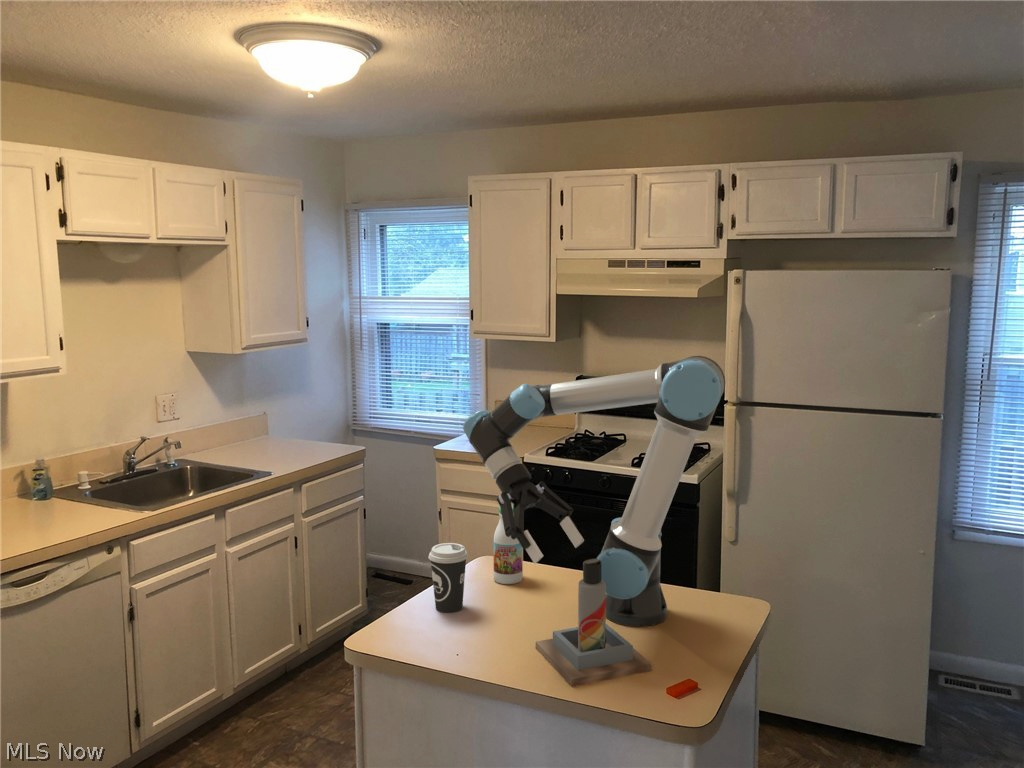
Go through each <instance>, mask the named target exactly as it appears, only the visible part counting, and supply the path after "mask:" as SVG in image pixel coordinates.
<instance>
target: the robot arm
mask: <svg viewBox="0 0 1024 768" xmlns="http://www.w3.org/2000/svg"><path fill="white" fill-rule="evenodd" d="M725 388H726V376H725V373H724V371H723V369H722V367H721V366H720V365H719V364H718V362H717V361H715V360H713V359H712V358H710V357H708V356H704V355H692V356H688V357H686V358H682V359H680V360H676V361H675V360H674V361H671V362H665V363H664V362H663V363H660V364H659V366H658V367H657V368H654V369H653V368H652V369H647V370H641V371H633V372H626V373H620V374H612V375H607V376H606V375H605V376H599V377H591V378H586V379H578V380H572V381H564V382H557V383H552V384H535V385H530V384H529V383H523V384H521V385H520V386H519V387H517V388H516V389H514V390H513V391H511V393H510V394H509V395H508V396H507V397H505V399H503V401H502V402H500V403H499V404H498V405H497V406H496V407H495V408H494V409H493V410H492V411H489V410H487V409H481V410H478V411H477V410H476V412H474V414H471V415H469V416H468V417H467V418H466V419H465V420H464V422H463V424H462V425H463V426H462V427H463V428H462V429H463V432H464V433H465V436H466V437H467V439H468V442H469V444H471V446H472V447H473V449H474V451H475V452H476V453H477V455H478V457H479V458H480V460H481V461H482V462H483V464H484V466H485V468H486V469H487V471H488V473H489V474H490V476H491V477H492V479H493V480H495V484H496V486H497V488H498V489H499V490H500V492H501V493H500V495H499V496H498V497H497V498H496V502H497V504H498V505H499V507H501V513H502V519H503V524H504V530H505V535H506V536H507V537H510V536H511V538H512V539H516V538H517V540H518V541H519V543H520V544H521V546H522V549H523V550H525V551H526V553H527V554H528V557H530V559H531V561H532V563H533V564H535V565H536V564H537V563H539V561H540V560H541V559H542V558H543V557H544V554H543V553H542V551H541V549H540V547H539V546H538V545H537V543H536V541H535V540H534V539H533V537H532V535H531V534H530V532H529V530H528V529H526V530H524V526H525V510H527V509H529V508H535V509H540V510H542V511H543V512H545V513H547V514H549V515H550V516H552V517H554V518H555V519H557V520H558V521H560V522H559V525H560V526H561V528H562V530H563V531H564V532H565V534H566V535H567V537H568V539H569V540H570V542H571V543H572V545H573V546H574V548H575V549H577V548H579V546H580V545H582V544H583V543H584V542H585V539H584V538H583V536H582V534H581V533H580V532H579V530H578V527H577V525H576V524H575V522H574V521H573V518H572V517H571V515H572V514H573V512H574V508H573V507H572V506H571V505H569V504H568V503H567V502H566V501H565V500H563V499H562V498H561V497H560V496H559V495H558V494H556V493H555V492H554V491H552V490H551V489H550V488H549V487H548V485H546V483H545V482H544V481H542V480H541V481H540V482H539V483H538V484H537V485H535V483H533V482H532V475H531V473H530V472H529V470H528V468H527V467H526V465H525V464H524V463H523V462H522V459H521V457H520V455H518V453H517V452H516V450H515V448H514V447H513V445H512V444H511V442H510V440H511V439H512V438H514V437H515V435H517V434H518V433H519V432H520V431H521V430H522V429H524V428H525V427H526V426H527V425H528V424H530V423H532V422H534V421H536V420H537V419H539V418H541V419H542V418H548V417H555V416H559V415H567V414H575V413H584V412H590V411H591V412H592V411H599V410H607V409H617V408H626V407H632V406H639V405H646V404H647V405H648V404H656V406H655V408H654V410H653V411H654V412H653V414H654V415H655V417H656V419H657V423H656V426H655V429H654V432H653V434H652V436H651V439H650V443H649V445H648V447H647V450H646V453H645V454H644V458H643V461H642V463H641V466H640V469H639V471H638V474H637V476H636V479H635V482H634V484H633V487H632V489H631V493H630V496H629V498H628V500H627V503H626V506H625V508H624V511H623V514H622V516H621V517H616V518H614V519H612V521H611V522H610V523H611V525H610V528H609V531H608V534H607V536H606V538H605V541H604V545H603V546H602V549H601V552H599V554H598V555H597V556H596V558H595V559H599V560H600V561H601V563H602V569H601V580H603V581H604V582H605V583H606V620H607V619H608V620H609V621H611V622H613V623H616V624H619V625H623V626H631V627H648V626H655V625H658V624H660V623H662V622H664V621H665V620H666V618H667V617H668V605H667V602H666V601H667V600H666V599H665V595H664V592H663V589H662V585H661V550H662V549H661V548H662V546H663V544H662V540H661V539H662V538H661V537H662V535H663V533H662V527H663V525H664V522H665V520H666V517H667V513H668V512H669V509H670V506H671V504H672V501H673V498H674V496H675V493H676V491H677V488H678V486H679V483H680V480H681V479H682V476H683V472H684V470H685V468H686V465H687V463H688V460H689V458H690V456H691V452H692V450H693V447H694V445H695V443H696V440H697V437H698V436H700V435H702V434H705V433H707V432H708V429H709V427H710V424H711V422H712V420H713V417H714V415H715V413H716V410H717V407H718V405H719V403H720V401H721V397H722V396H723V394H724V392H725ZM512 505H513V511H512ZM513 512H514V516H513Z"/></svg>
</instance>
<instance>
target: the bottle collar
mask: <svg viewBox="0 0 1024 768" xmlns="http://www.w3.org/2000/svg"><path fill="white" fill-rule="evenodd" d="M552 639H553V646H554V647H555V648H556V649H557V650H558V651H559V652H560V653H561V654H562V655H563V656H564V657H565V658H566V659H567V660H568V661H569V662H570V663H571V664H572V665H573V666H574V667H575V668H576V669H577V670H578V671H579V670H584V669H589V668H594V667H599V666H604V665H609V664H614V663H619V662H624V661H629V660H633V648H634V645H633V644H631V642H629V641H628V640H627V639H625V638H624V637H623V636H621V635H620V634H619V633H618V632H617V631H616V630H614V629H613V628H612V627H611V626H610V625H609V624H607V623H606V642H607V643H608V644H609V645H610V646H611V647H609V648H603V649H598V650H593V651H587V652H582V653H581V652H580V651H579V650H578V649H577V648H576V647H575V646H573V645H572V644H575V643H578V626H577V627H570V628H565V629H558V630H552Z"/></svg>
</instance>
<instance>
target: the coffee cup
mask: <svg viewBox="0 0 1024 768" xmlns="http://www.w3.org/2000/svg"><path fill="white" fill-rule="evenodd" d="M468 554H469V553H468V552H467V550H466V548H465V546H464V545H463V544H459V543H456V542H455V543H454V542H447V543H446V542H444V543H439V544H435V545H434V546H432V547H431V551H430V552H429V554H428V558H427V559H429V560H430V566H431V578H432V585H433V593H434V594H433V595H434V605H435V610H436V611H437V612H439V613H444V614H454V613H457V612H460V611H461V610H462V609H463V604H464V592H465V579H466V564H467V559H468V558H469V555H468Z"/></svg>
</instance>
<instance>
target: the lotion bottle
mask: <svg viewBox="0 0 1024 768" xmlns="http://www.w3.org/2000/svg"><path fill="white" fill-rule="evenodd" d="M601 569H602V563H601V561H600V560H599V559H596V558H588V559H586V560H584V561H583V562H582V579H580V580H579V581H578V589H577V591H578V595H577V596H578V598H577V599H578V600H577V601H578V607H577V608H578V611H577V612H578V615H577V616H578V617H577V619H578V621H577V622H578V623H577V624H578V626H577V627H578V650H579V651H580V652H581V653H582V652H587V651H593V650H598V649H603V648H606V624H607V621H606V620H607V618H606V583H605V582H604V581H603V580H601Z"/></svg>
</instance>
